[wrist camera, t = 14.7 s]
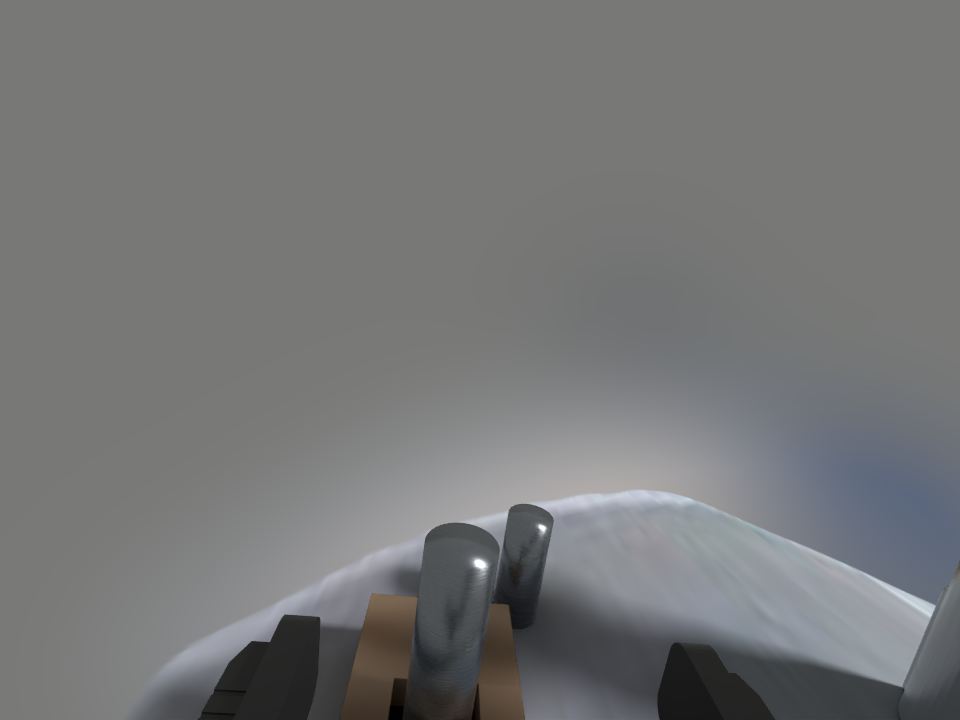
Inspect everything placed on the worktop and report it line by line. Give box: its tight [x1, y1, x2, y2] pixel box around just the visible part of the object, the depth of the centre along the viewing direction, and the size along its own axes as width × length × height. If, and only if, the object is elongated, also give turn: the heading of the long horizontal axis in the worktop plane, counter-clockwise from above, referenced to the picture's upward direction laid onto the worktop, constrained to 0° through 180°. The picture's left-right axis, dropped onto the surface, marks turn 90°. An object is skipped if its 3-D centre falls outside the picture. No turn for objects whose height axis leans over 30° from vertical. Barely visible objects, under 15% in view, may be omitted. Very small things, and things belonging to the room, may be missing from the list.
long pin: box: [402, 523, 500, 720], centre depth 23 cm, size 4×4×15 cm
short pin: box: [493, 504, 553, 629], centre depth 37 cm, size 4×4×9 cm
